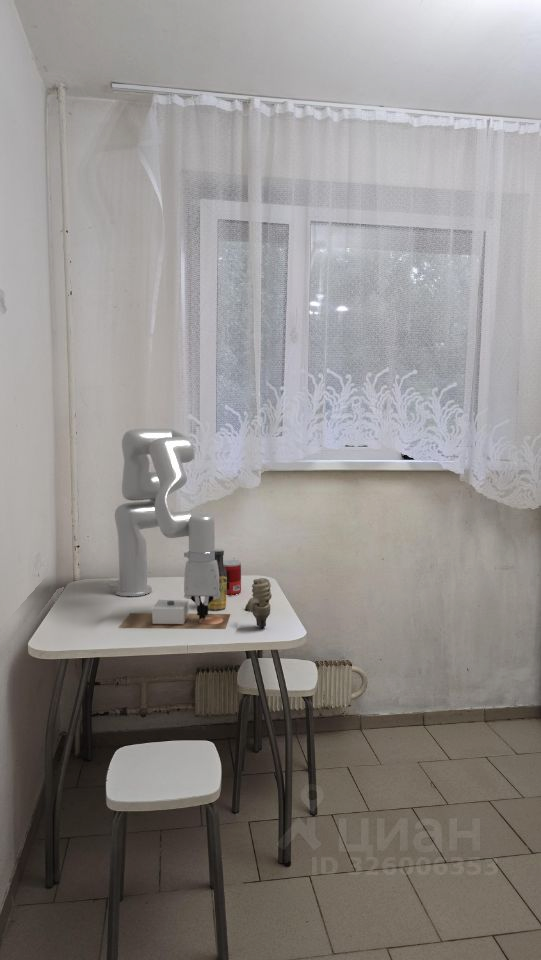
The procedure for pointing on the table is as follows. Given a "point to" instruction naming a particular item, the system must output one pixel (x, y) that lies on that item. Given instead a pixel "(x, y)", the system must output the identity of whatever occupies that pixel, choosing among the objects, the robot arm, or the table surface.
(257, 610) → the light bulb
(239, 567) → the canned food
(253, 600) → the beige rounded lump
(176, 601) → the block
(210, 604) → the sauce bottle
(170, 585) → the table surface
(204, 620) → the board
